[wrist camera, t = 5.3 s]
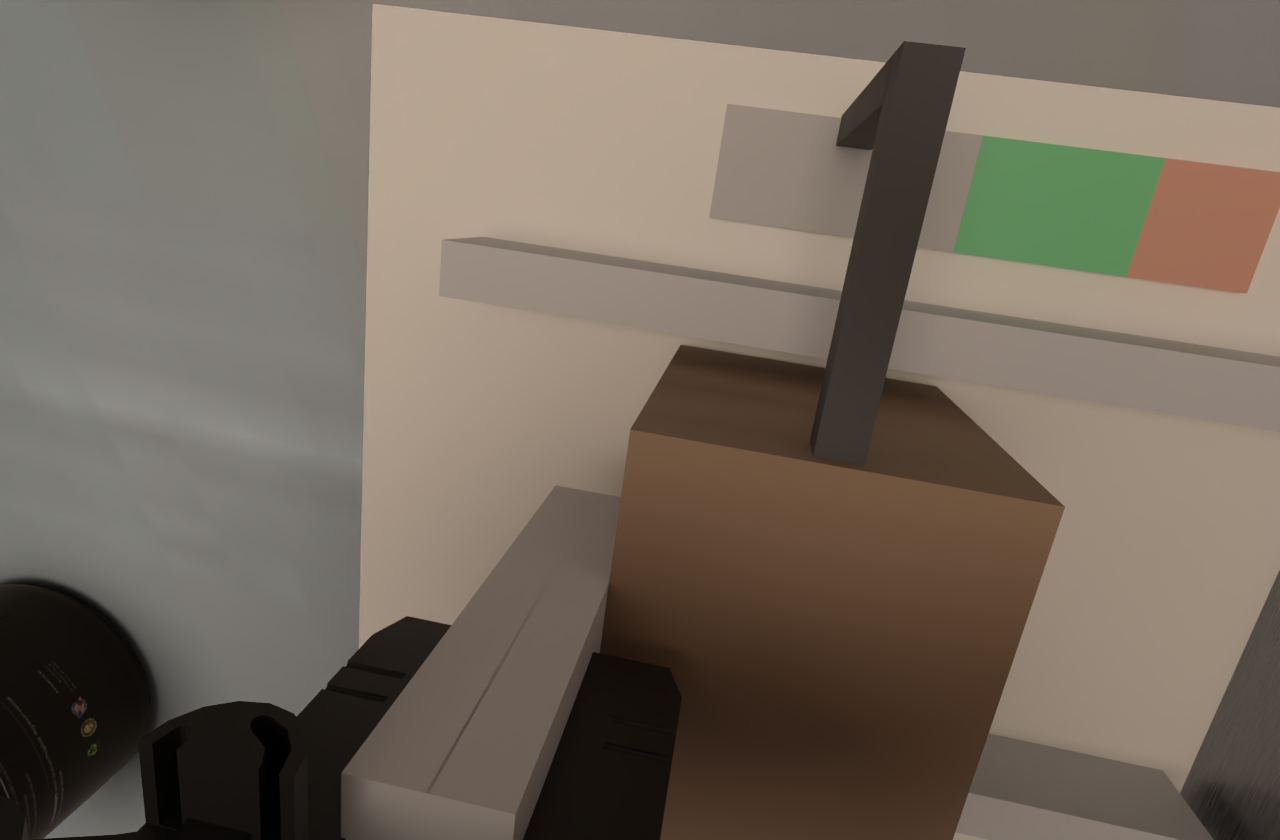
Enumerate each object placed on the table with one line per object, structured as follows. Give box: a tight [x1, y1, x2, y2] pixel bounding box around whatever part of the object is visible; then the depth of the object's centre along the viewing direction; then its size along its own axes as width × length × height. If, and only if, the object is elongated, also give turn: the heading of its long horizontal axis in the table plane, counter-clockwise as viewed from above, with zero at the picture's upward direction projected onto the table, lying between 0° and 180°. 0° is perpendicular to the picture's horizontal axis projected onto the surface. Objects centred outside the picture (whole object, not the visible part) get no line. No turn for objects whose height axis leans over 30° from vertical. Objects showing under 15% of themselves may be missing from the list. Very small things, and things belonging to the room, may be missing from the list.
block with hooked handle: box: [600, 41, 1065, 840], centre depth 11 cm, size 12×5×6 cm, turn 172°
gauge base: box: [359, 4, 1280, 840], centre depth 15 cm, size 18×22×4 cm
